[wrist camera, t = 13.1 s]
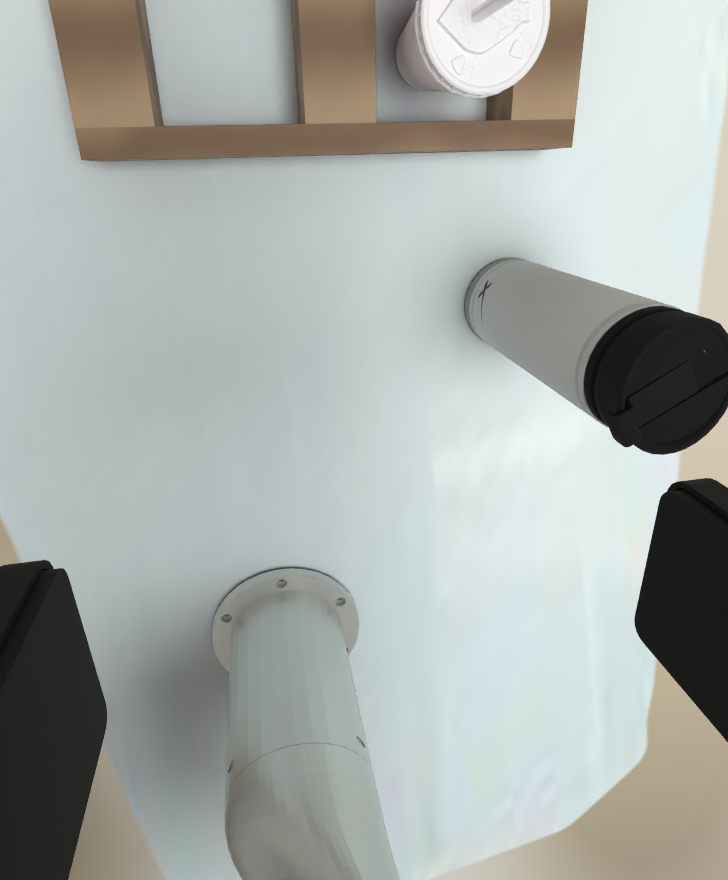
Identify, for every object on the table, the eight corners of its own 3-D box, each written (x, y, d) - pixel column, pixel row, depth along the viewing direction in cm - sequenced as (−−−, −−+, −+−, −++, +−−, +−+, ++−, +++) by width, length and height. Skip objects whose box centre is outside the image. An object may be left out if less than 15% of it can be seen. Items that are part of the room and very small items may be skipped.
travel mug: (445, 288, 42) (596, 376, 24) (527, 240, 41) (743, 291, 23) (479, 361, 44) (637, 488, 26) (556, 316, 44) (769, 414, 26)
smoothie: (368, -5, 34) (447, -114, 21) (474, -15, 34) (611, -125, 22) (379, 121, 36) (456, 91, 24) (477, 109, 37) (601, 74, 25)
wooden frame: (541, 149, 39) (571, 147, 35) (98, 161, 35) (81, 159, 31) (560, -60, 34) (597, -87, 31) (51, -77, 30) (25, -111, 26)
